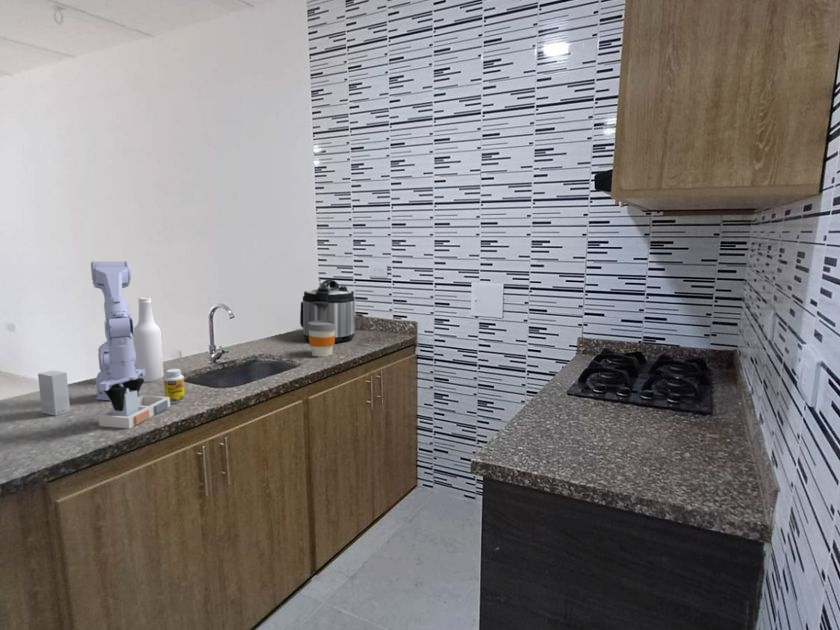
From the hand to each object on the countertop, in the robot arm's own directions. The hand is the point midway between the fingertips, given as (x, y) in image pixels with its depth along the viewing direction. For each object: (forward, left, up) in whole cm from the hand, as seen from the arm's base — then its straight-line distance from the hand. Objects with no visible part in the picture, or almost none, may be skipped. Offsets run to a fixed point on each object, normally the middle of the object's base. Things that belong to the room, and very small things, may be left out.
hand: (125, 407), depth 127 cm
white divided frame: (0, +4, -4) cm, 6 cm away
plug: (0, 0, -3) cm, 3 cm away
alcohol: (-20, +36, -4) cm, 41 cm away
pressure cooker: (+21, +117, -4) cm, 119 cm away
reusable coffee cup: (+29, +84, -4) cm, 89 cm away
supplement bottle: (+3, +17, -4) cm, 18 cm away
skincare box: (-24, +2, -4) cm, 24 cm away
